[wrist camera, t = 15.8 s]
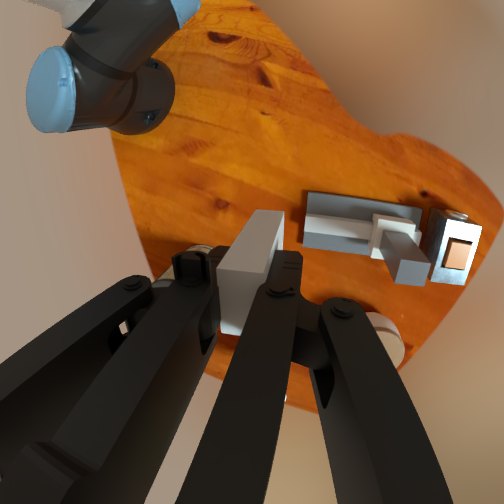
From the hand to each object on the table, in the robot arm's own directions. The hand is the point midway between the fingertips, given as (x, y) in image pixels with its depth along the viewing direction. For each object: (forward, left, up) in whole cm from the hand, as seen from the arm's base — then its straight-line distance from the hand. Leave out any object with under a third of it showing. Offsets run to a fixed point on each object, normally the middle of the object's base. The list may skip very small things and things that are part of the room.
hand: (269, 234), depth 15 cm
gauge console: (+8, +26, -30) cm, 40 cm away
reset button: (+8, +26, -26) cm, 37 cm away
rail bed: (+8, +11, -30) cm, 32 cm away
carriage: (+8, +15, -28) cm, 32 cm away
